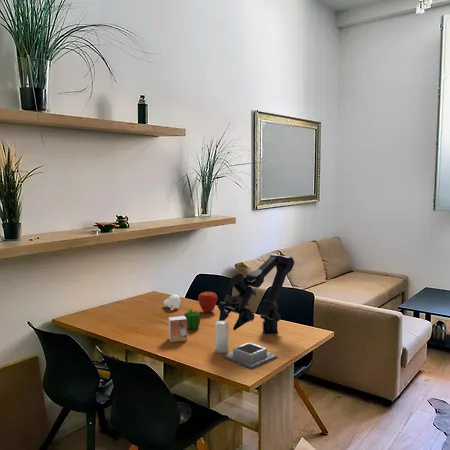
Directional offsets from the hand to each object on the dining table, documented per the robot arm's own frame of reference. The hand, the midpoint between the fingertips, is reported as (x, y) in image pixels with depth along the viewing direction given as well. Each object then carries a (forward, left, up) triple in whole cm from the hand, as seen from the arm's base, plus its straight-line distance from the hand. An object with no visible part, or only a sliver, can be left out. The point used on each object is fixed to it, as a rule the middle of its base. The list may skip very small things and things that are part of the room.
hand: (226, 327), depth 192 cm
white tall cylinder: (+2, +2, -10) cm, 10 cm away
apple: (+6, -56, -10) cm, 57 cm away
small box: (+22, -14, -10) cm, 27 cm away
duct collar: (-9, +11, -10) cm, 17 cm away
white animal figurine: (+27, -66, -10) cm, 72 cm away
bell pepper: (+15, -30, -10) cm, 35 cm away
